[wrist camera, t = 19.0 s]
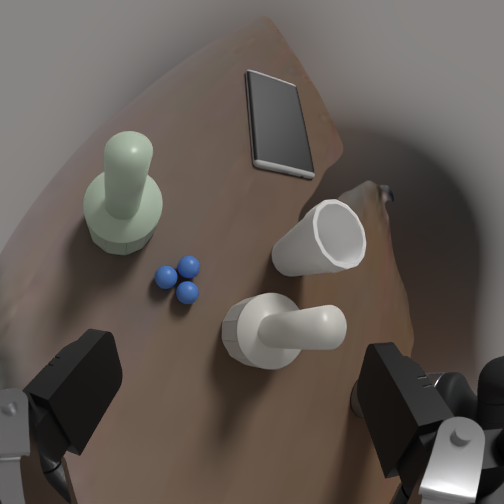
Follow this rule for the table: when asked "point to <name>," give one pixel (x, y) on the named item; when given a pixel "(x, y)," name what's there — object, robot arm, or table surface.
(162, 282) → the marble
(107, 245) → the pale green pedestal post
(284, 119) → the smartphone
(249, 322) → the white joystick
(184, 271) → the marble
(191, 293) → the marble
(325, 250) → the foam cup
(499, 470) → the robot arm
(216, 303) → the table surface
